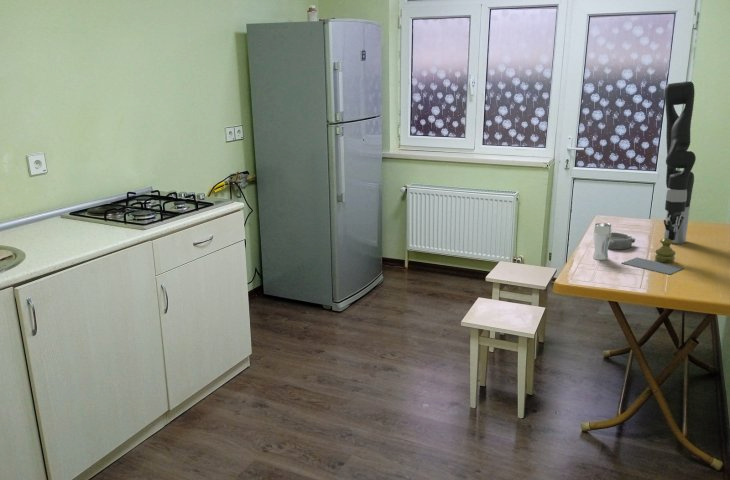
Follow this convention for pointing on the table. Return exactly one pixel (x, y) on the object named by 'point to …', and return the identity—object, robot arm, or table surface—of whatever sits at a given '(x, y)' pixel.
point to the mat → (653, 265)
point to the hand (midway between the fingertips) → (671, 239)
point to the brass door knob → (665, 252)
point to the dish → (620, 241)
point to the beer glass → (601, 240)
